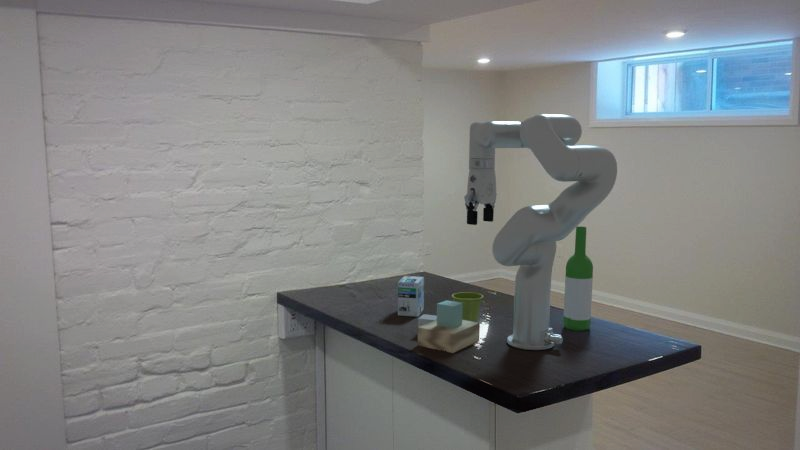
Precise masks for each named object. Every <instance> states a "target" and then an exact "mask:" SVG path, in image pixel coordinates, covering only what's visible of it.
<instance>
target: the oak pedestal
mask: <svg viewBox="0 0 800 450" xmlns="http://www.w3.org/2000/svg"><path fill="white" fill-rule="evenodd" d="M480 324H481V323H480V322H472V321H467V320H462V325H460V326H458V327H455V328H453V329H452V328H447V327H442V326H437V320H435V321H433V322H430V323H427V324H425V325H422V326H420V327H418V326H417V346H419V347H423V348H427V349H432V350H436V349H437V351H441V350H442V351H441V352H445V351H446V353H450V354H454V353H456V352H458V351H460V350H463V349H464V348H467V347H469V346H471V345H473V344H475V343H478V342H480V331H481V330H480Z"/></svg>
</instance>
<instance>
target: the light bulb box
mask: <svg viewBox="0 0 800 450" xmlns="http://www.w3.org/2000/svg"><path fill="white" fill-rule="evenodd" d="M424 295H425V277H424V276H415V275H414V276H411V275H404V276H403V277H401V278H400V280H398V281H397V316H400V317H401V316H403V317H418V318H419V316H420V315H421V314H422V312H423V311H424V308H425V307H424V306H425V305H424V303H425V299H424V298H425V296H424Z"/></svg>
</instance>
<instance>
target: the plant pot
mask: <svg viewBox="0 0 800 450" xmlns="http://www.w3.org/2000/svg"><path fill="white" fill-rule="evenodd" d="M451 298H452V300H453V301H454V302H460V303H463V305H462V320H467V321H472V322H477V323H479V322H478V320H479V316H480V314H479V313H480V307H481V303H482V300H483V298H484V295H483V294H481V293H477V292H468V291H467V292H465V291H464V292H455V293H453V294H451Z"/></svg>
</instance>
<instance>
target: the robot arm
mask: <svg viewBox="0 0 800 450" xmlns="http://www.w3.org/2000/svg"><path fill="white" fill-rule="evenodd" d="M582 133H583V129H582V126H581V124H580V122H579V121H578V120H577V119H576V118H575V117H574V116H572V115H568V114H567V115H566V114H549V113H541V114H536V115H533V116H530V117H527V118H526V119H525V120H523V121H511V120H510V121H509V120H507V121H506V120H490V121H489V120H488V121H475V122H472V123H471V124H470V126H469V145H468V146H469V147H468V148H469V149H468V154H469V155H468V170H469V171H468V176H467V178H468V179H467V188H466V189H467V190H466V191H467V192H466V194H465V196H464V202H465V207H466V208H465V210H466V224H467V225H472V226H477V225H478V213H479V212H478V211H477V209H478V207H479V204H480V205H483V206H484V207H483V213H482V216H483V217H482V220H483V222H491V223H492V222H494V212H495V211H494V209H495V206H496V205H495V204H496V201H497V177H496V171H495V170H496V169H495V167H496V149H529V150H531V153H532V154H533V155H534V156H535V158H536V159H537V161H538V162H539V163H540V165H541V166H542V167H543V169H544V171H545V172H546V173H547V174H548V175H549V177H551V178H552V179H553V180H556V181H558V182H563V183H565V182H566V183H567V182H569V183H570V182H574V183H572V184H571V185H569V186H567V187H566V188H565V189H564V190H562V191H561V192H560V193H559V195H558V196H557V197H556V198H555V199H554V200H552V202H550V203H547V204H536V205H527V206H523V207H522V208H520V209H519V210H517V211H516V212H515V213H514V214H513V215H512V216H511V217H510V218H509V220H507V222H506V223H505V224H504V226H503V227H502V228H501V229H500V230H499V232H498V233H497V234H496V236H495V237H494V240H493V242H492V248H491V249H492V256H493V258H494V260H495V261H496V263H498V264H500V265H501V266H505V267H517V266H519V267H518V269H517V271H516V275H515V279H514V294H513V295H514V296H513V297H514V298H513V323H512V324H513V326H512V328H513V329H512V334H510V335H508V336H507V337H506V338H507V339H506V343H507V344H508V345H509V346H511V347H513V348H517V349H522V350H529V351H542V350H548V349H552V348H553V347H554V346H555V344H558V345H562V344H563V341H564V339H563V335H562V334H557V333H554V332H553V331H554V330H553V328H552V327H550V315H551V313H550V310H551V309H550V308H551V291H552V290H551V289H552V274H553V266H554V262H555V257H556V254H557V242H559V241H562V240H564V239H566V237H568V236H569V235H570V234H571V233H572V232H573V231H574V230H576V227H579V225H580V224H581V223H582V222H583V221H584V220H585V219H586V218H587V217H588V216H589V214H590V213H592V212H593V211H594V210H595V209H596V208H598V206H599V205H600V204H602V202H604V200H606V198H607V197H608V196H609V195H610V193H611V192H612V190H613V188H614V186H615V184H616V180H617V176H618V163H617V159H616V157H615V155H614V153H612V152H611V151H610V150H608V149H607V148H605V147H602V146H598V145H597V146H596V145H576V144H578V142H579V141H580V139H581V137H582Z"/></svg>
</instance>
